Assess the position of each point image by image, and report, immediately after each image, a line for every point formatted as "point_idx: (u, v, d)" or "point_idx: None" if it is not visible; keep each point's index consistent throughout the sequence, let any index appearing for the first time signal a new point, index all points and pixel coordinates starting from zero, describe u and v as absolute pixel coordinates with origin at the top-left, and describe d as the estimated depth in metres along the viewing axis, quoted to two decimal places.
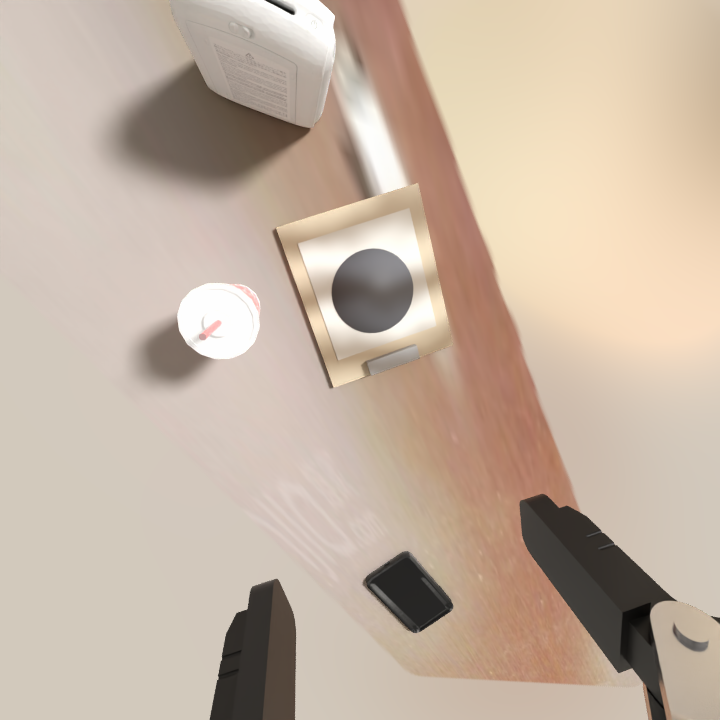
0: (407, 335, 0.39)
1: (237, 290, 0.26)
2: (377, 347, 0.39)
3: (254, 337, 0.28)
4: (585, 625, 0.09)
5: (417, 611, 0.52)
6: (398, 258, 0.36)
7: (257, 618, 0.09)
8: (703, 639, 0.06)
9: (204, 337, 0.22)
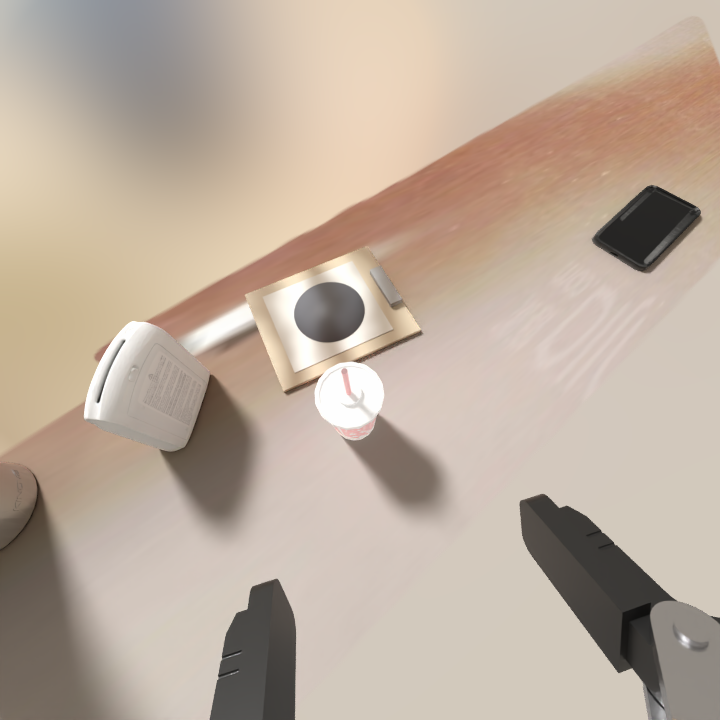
0: (363, 280, 0.45)
1: (319, 380, 0.30)
2: (376, 300, 0.44)
3: (359, 364, 0.31)
4: (585, 625, 0.09)
5: (668, 215, 0.48)
6: (300, 297, 0.44)
7: (257, 618, 0.09)
8: (703, 639, 0.06)
9: (345, 369, 0.25)
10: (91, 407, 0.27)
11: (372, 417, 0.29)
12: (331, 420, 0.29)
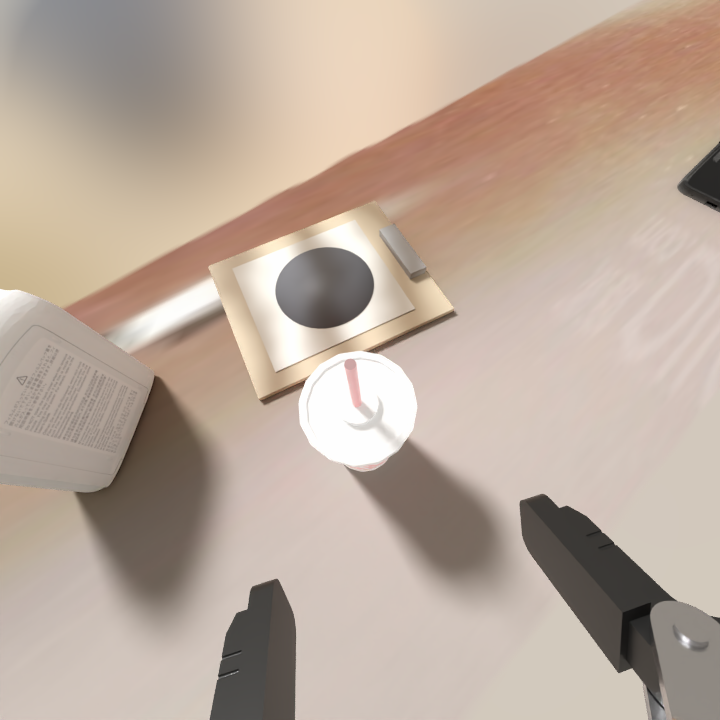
0: (370, 244, 0.33)
1: (306, 382, 0.18)
2: (390, 270, 0.31)
3: (373, 355, 0.19)
4: (585, 625, 0.09)
5: None
6: (284, 268, 0.32)
7: (257, 618, 0.09)
8: (703, 639, 0.06)
9: (351, 361, 0.13)
10: None
11: (399, 445, 0.17)
12: (327, 452, 0.17)
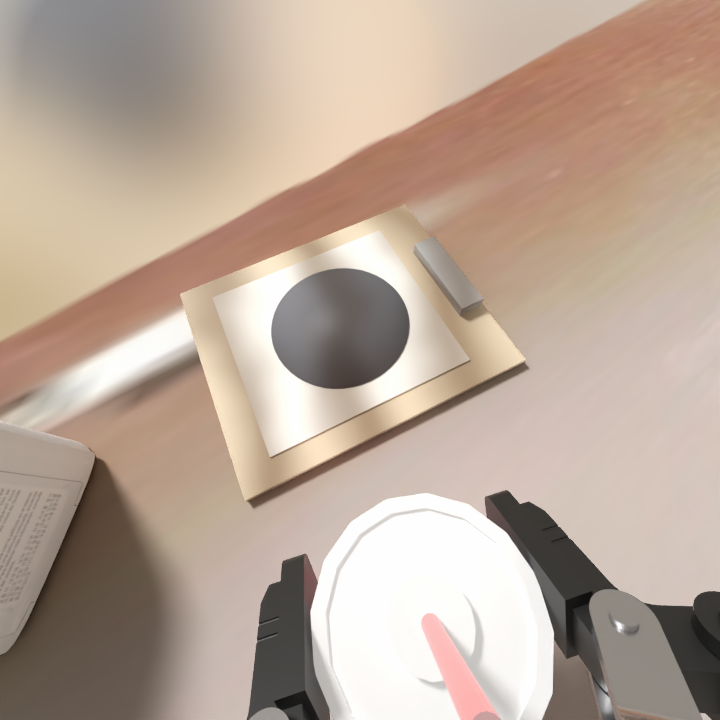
0: (401, 264, 0.24)
1: (326, 564, 0.09)
2: (431, 302, 0.23)
3: (452, 504, 0.10)
4: None
5: None
6: (283, 298, 0.23)
7: (291, 588, 0.10)
8: (634, 623, 0.07)
9: None
10: None
11: None
12: None
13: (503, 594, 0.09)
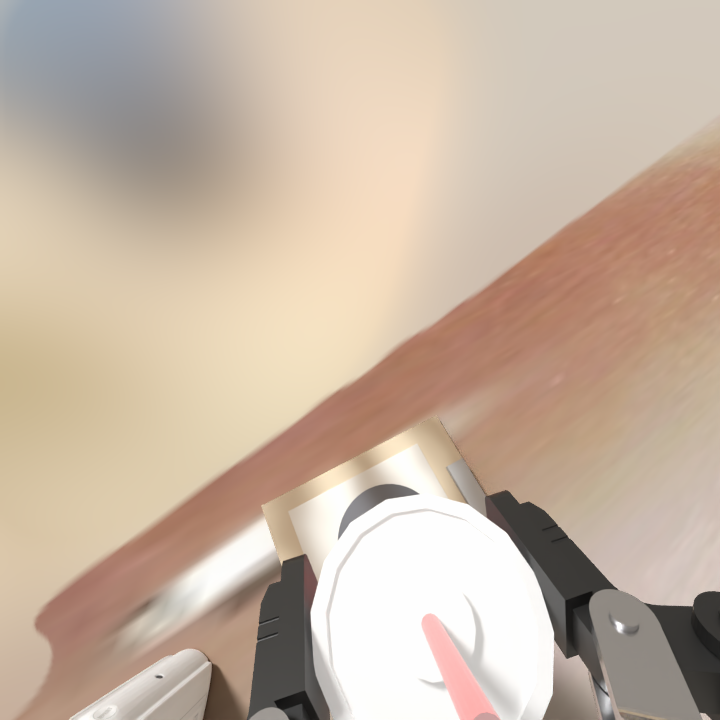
0: (436, 479, 0.30)
1: (326, 565, 0.09)
2: None
3: (453, 504, 0.10)
4: None
5: None
6: (345, 514, 0.29)
7: (291, 587, 0.10)
8: (634, 624, 0.07)
9: None
10: None
11: None
12: None
13: (503, 594, 0.09)
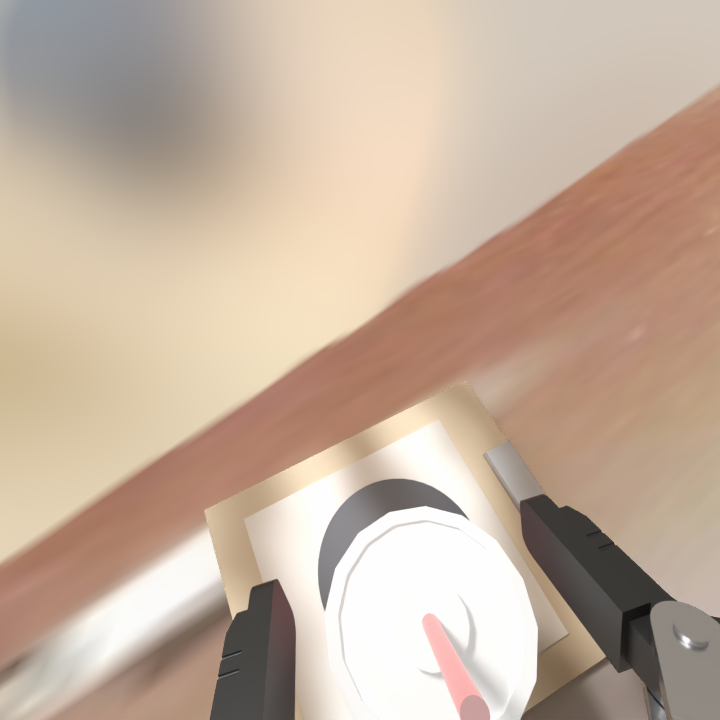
0: (470, 472, 0.20)
1: (337, 572, 0.10)
2: (511, 535, 0.19)
3: (448, 515, 0.11)
4: (585, 625, 0.09)
5: None
6: (330, 524, 0.19)
7: (257, 618, 0.09)
8: (703, 639, 0.06)
9: (476, 707, 0.05)
10: None
11: None
12: None
13: (494, 595, 0.10)
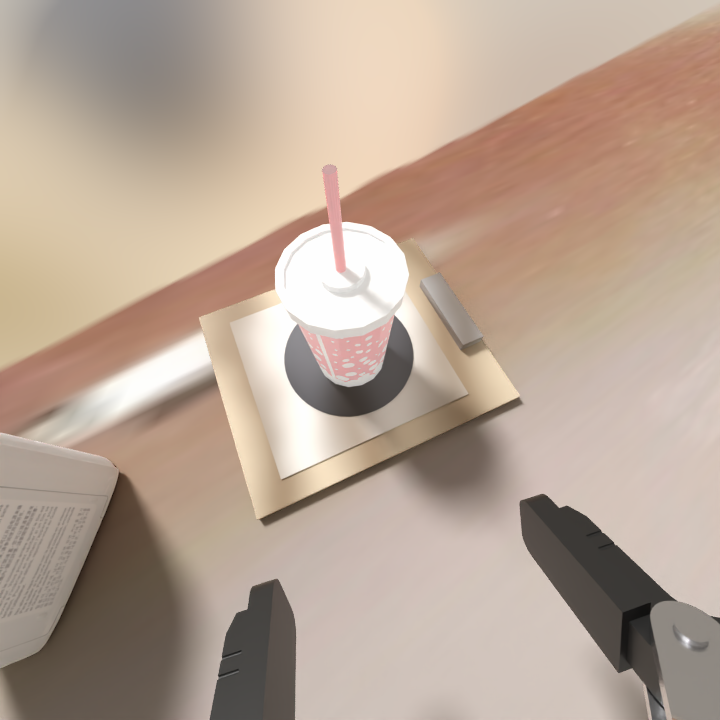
0: (408, 297, 0.26)
1: (285, 251, 0.16)
2: (434, 336, 0.24)
3: (361, 226, 0.17)
4: (585, 625, 0.09)
5: None
6: (296, 326, 0.25)
7: (257, 618, 0.09)
8: (703, 639, 0.06)
9: (330, 167, 0.11)
10: None
11: (386, 312, 0.15)
12: (305, 317, 0.15)
13: (384, 263, 0.16)
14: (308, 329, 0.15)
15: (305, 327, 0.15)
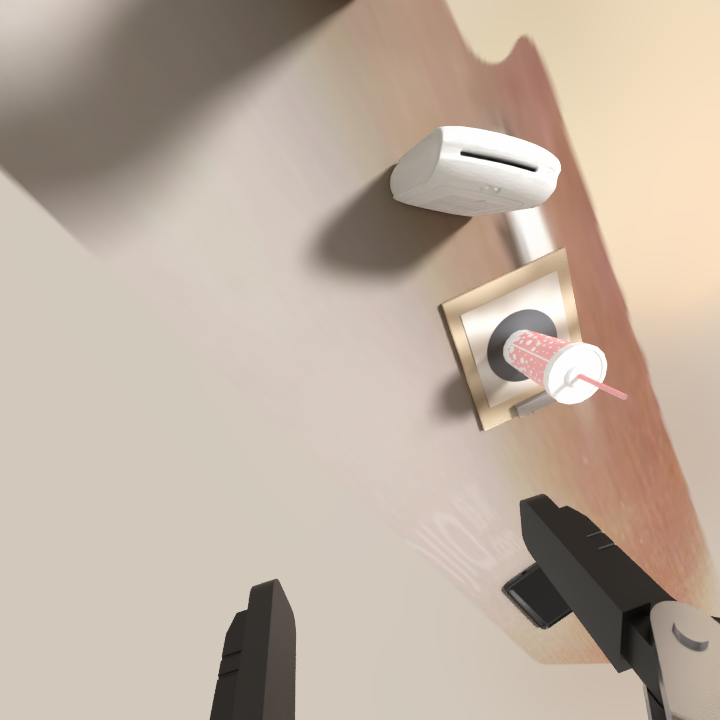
0: None
1: (596, 347, 0.32)
2: (523, 392, 0.43)
3: (601, 382, 0.33)
4: (585, 625, 0.09)
5: (547, 611, 0.58)
6: (545, 314, 0.40)
7: (257, 618, 0.09)
8: (703, 639, 0.06)
9: (625, 397, 0.28)
10: (455, 145, 0.22)
11: (553, 395, 0.33)
12: (558, 361, 0.31)
13: (577, 393, 0.33)
14: (551, 359, 0.32)
15: (552, 358, 0.32)
